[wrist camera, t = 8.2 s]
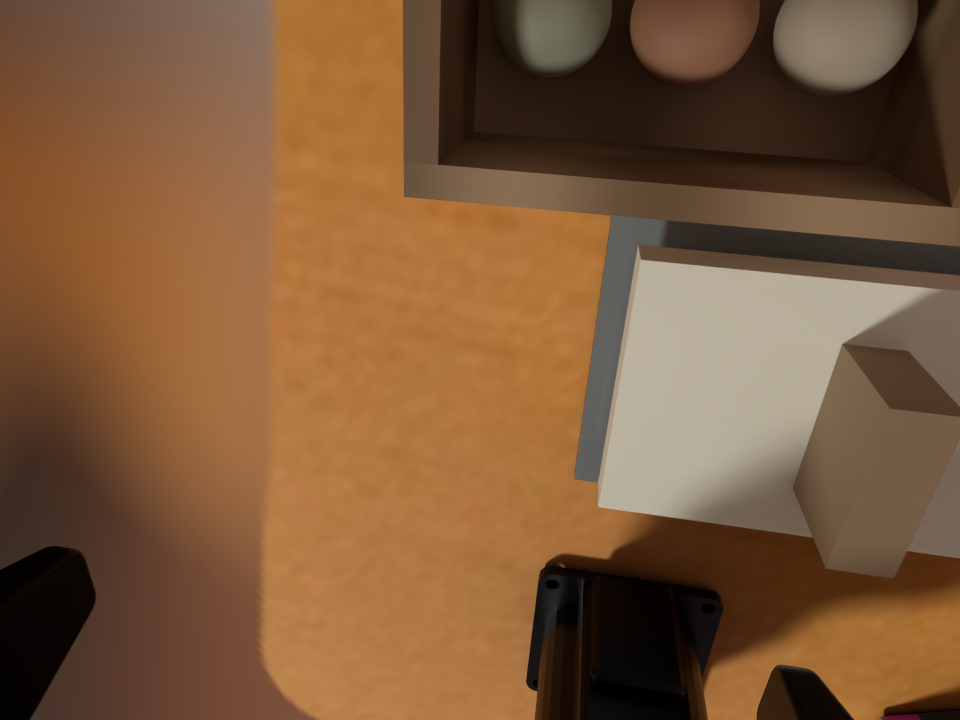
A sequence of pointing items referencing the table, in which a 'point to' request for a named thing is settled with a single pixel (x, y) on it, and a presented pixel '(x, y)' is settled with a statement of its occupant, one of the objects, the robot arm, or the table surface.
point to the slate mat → (724, 240)
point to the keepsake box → (692, 111)
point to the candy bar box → (926, 716)
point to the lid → (791, 403)
